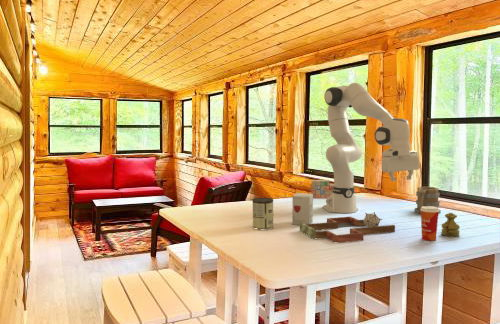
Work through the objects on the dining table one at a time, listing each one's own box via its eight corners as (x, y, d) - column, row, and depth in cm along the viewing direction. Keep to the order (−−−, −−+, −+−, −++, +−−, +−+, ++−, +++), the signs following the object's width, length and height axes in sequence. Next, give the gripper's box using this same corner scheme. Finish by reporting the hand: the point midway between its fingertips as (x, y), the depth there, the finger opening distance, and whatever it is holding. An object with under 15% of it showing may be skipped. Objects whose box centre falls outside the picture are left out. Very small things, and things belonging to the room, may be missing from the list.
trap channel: (293, 227, 209) (293, 219, 208) (367, 220, 220) (367, 213, 220) (321, 244, 178) (321, 234, 178) (406, 235, 190) (406, 227, 190)
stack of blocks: (342, 197, 292) (342, 179, 291) (343, 199, 286) (343, 181, 285) (311, 197, 295) (311, 179, 294) (311, 198, 289) (311, 180, 288)
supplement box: (291, 224, 213) (291, 195, 212) (296, 220, 222) (296, 192, 221) (309, 226, 210) (309, 196, 209) (313, 222, 219) (313, 193, 217)
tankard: (421, 209, 250) (421, 183, 249) (443, 212, 241) (443, 185, 240) (405, 214, 236) (406, 187, 235) (428, 217, 227) (429, 190, 226)
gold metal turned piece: (458, 237, 186) (459, 215, 185) (440, 235, 190) (440, 213, 189) (460, 234, 192) (461, 212, 192) (442, 232, 196) (443, 210, 196)
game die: (375, 237, 202) (383, 223, 196) (358, 230, 203) (365, 216, 197) (377, 224, 209) (385, 211, 202) (360, 218, 210) (368, 204, 204)
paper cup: (416, 237, 188) (417, 206, 187) (432, 236, 189) (433, 205, 187) (424, 241, 180) (425, 209, 179) (442, 241, 181) (443, 209, 180)
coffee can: (256, 224, 214) (256, 197, 213) (275, 226, 211) (275, 198, 210) (249, 229, 205) (249, 200, 204) (270, 230, 201) (269, 201, 200)
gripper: (412, 150, 211) (413, 178, 212) (379, 152, 204) (380, 181, 204) (422, 150, 205) (422, 179, 206) (387, 153, 198) (388, 182, 199)
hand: (401, 180), depth 205 cm, fingers open, 8 cm apart
